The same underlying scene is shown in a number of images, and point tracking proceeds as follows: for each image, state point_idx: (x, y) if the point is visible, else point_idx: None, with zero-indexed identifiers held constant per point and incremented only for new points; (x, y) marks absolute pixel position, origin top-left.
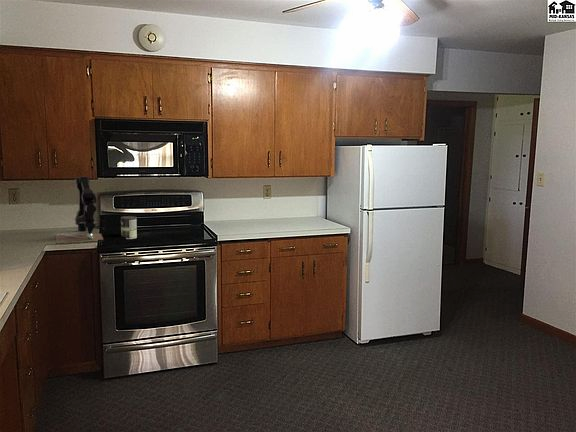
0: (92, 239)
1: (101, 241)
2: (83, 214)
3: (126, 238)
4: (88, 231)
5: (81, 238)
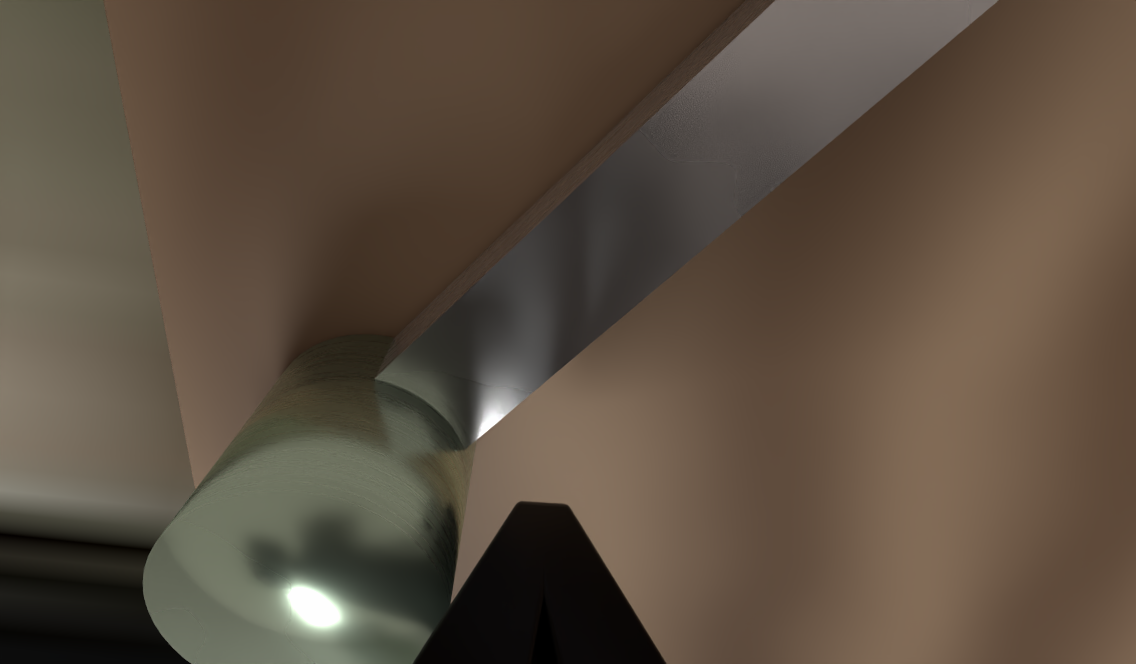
0: None
1: None
2: None
3: None
4: (421, 659)
5: None
